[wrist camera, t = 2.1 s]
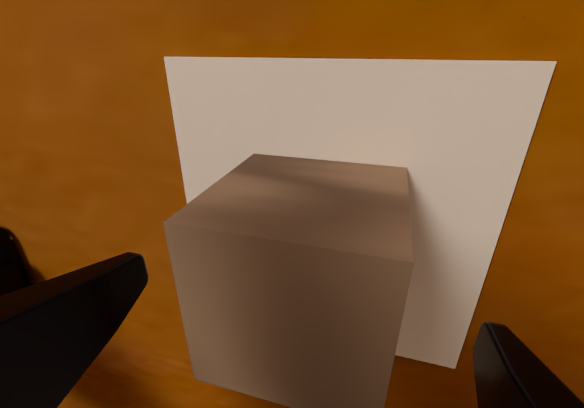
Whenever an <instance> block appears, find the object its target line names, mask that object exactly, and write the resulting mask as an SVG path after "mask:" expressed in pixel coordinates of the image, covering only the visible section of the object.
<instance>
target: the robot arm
mask: <svg viewBox="0 0 584 408" xmlns="http://www.w3.org/2000/svg"><path fill="white" fill-rule="evenodd" d="M147 282H148V273H147V269H146V265H145V261H144V258H143V256H142V255H140V254H137V253H132V252H127V253H124V254H121V255H118V256H115V257H112V258H110V259H107V260H104V261H101V262H98V263H95V264H92V265H89V266H87V267H84V268H81V269H78V270H75V271H72V272H69V273H66V274H63V275H61V276H58V277H55V278H52V279H49V280H46V281H43V282H40V283H38V284H35V285H32V286H31V285H30V283H29V281H28V278H27V276H26V274H25V272H24V270H23V267H22V265H21V263H20V261H19V258H18V256H17V254H16V252H15V250H14V247H13V245H12V243H11V241H10V238H9V236H8V235H7V233H6V232H5V231H4V230H3V229H2V228H0V408H57V407H58V406H59V405H60V403H61V402H62V401H63V399H64V398H65V397H66V396H67V394H68V393H69V392H70V390H71V389H72V388H73V387H74V385H75V384H76V383H77V381H78V380H79V379H80V378H81V376H82V375H83V374H84V372H85V371H86V370H87V369H88V367H89V366H90V365H91V363H92V362H93V361H94V360H95V358H96V357H97V356H98V354H99V353H100V352H101V351H102V349H103V348H104V347H105V345H106V344H107V343H108V342H109V340H110V339H111V338H112V336H113V335H114V334H115V332H116V331H117V330H118V328H119V327H120V325H121V324H122V322H123V321H124V319H125V318H126V316H127V314H128V313H129V311H130V310H131V308H132V307H133V305H134V304H135V302H136V300H137V299H138V297H139V296H140V294H141V293H142V291H143V290H144V288H145V286H146V285H147ZM473 362H474V372H475V381H476V391H477V400H478V408H584V403H583V402H582V401H581V400H580V399H579V398H578V397H577V396H576V395H575V394H574V393H573V392H572V391H571V390H570V389H569V388H568V387H567V386H566V385H565V384H564V383H563V382H562V381H561V380H560V379H559V378H558V377H557V376H556V375H555V374H554V373H553V372H552V371H551V370H550V369H549V368H548V367H547V366H546V365H545V364H544V363H543V362H542V361H541V360H540V359H539V358H538V357H537V356H536V355H535V354H534V353H533V352H532V351H531V350H530V349H529V348H528V347H527V346H526V345H525V344H524V343H523V342H522V341H521V340H520V339H519V338H518V337H517V336H516V335H515V334H514V333H513V332H512V331H511V330H510V329H509V328H508V327H506V326H505V325H502V324H498V323H493V322H488V321H486V322H483V324H482V325H481V328H480V330H479V333H478V336H477V339H476V342H475V345H474V348H473Z"/></svg>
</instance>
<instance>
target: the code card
mask: <svg viewBox="0 0 584 408" xmlns="http://www.w3.org/2000/svg"><path fill="white" fill-rule="evenodd" d="M164 61H165V68H166V74H167V80H168V87H169V93H170V99H171V106H172V112H173V118H174V125H175V131H176V137H177V144H178V150H179V156H180V163H181V169H182V175H183V182H184V188H185V194H186V201H187V204H188V203H189V202H190V201H192V200H193V199H194V198H196V197H197V196H198V195H200V194H201V193H202V192H204V191H205V190H206V189H208V188H209V187H210V186H212V185H213V184H214V183H216V182H217V181H218V180H220V179H221V178H222V177H224V176H225V175H226V174H227V173H229V172H230V171H231V170H233V169H234V168H235V167H237V166H238V165H239V164H241V163H242V162H243V161H245V160H246V159H247V158H249V157H250V156H251V155H253V154H264V155H275V156H285V157H296V158H307V159H318V160H329V161H340V162H351V163H362V164H373V165H384V166H394V167H405V168H407V179H408V193H409V206H410V219H411V233H412V246H413V259H414V264H413V269H412V274H411V279H410V284H409V288H408V293H407V298H406V303H405V308H404V313H403V318H402V323H401V328H400V333H399V338H398V342H397V347H396V352H395V355H397V356H402V357H406V358H410V359H414V360H419V361H423V362H427V363H432V364H436V365H440V366H445V367H449V368H453V369H455V368H456V365H457V362H458V359H459V356H460V353H461V349H462V346H463V343H464V340H465V337H466V334H467V331H468V328H469V325H470V322H471V319H472V316H473V313H474V310H475V307H476V304H477V301H478V298H479V295H480V292H481V289H482V286H483V283H484V280H485V277H486V274H487V271H488V268H489V265H490V262H491V259H492V256H493V253H494V250H495V247H496V244H497V241H498V238H499V235H500V232H501V228H502V225H503V222H504V219H505V216H506V213H507V210H508V207H509V204H510V201H511V198H512V195H513V192H514V189H515V186H516V183H517V180H518V177H519V174H520V171H521V168H522V165H523V162H524V159H525V156H526V153H527V150H528V147H529V144H530V141H531V138H532V135H533V132H534V129H535V126H536V123H537V120H538V117H539V114H540V111H541V107H542V104H543V101H544V98H545V95H546V92H547V89H548V86H549V83H550V80H551V77H552V74H553V71H554V68H555V65H556V62H557V61H497V60H412V59H328V58H243V57H164Z"/></svg>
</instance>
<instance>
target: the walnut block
mask: <svg viewBox="0 0 584 408" xmlns="http://www.w3.org/2000/svg"><path fill="white" fill-rule="evenodd" d="M163 225H164V230H165V235H166V240H167V245H168V250H169V255H170V260H171V265H172V270H173V275H174V280H175V285H176V290H177V295H178V300H179V305H180V310H181V315H182V320H183V325H184V330H185V335H186V340H187V345H188V350H189V355H190V360H191V365H192V370H193V375H194V379H195V380H199V381H202V382H206V383H209V384H212V385H216V386H219V387H223V388H226V389H229V390H233V391H236V392H240V393H243V394H246V395H250V396H253V397H257V398H260V399H263V400H267V401H270V402H274V403H277V404H280V405H284V406H287V407H291V408H384V406H385V401H386V397H387V392H388V387H389V382H390V377H391V372H392V367H393V362H394V357H395V352H396V347H397V342H398V338H399V333H400V328H401V323H402V318H403V313H404V308H405V303H406V298H407V293H408V288H409V284H410V279H411V274H412V269H413V264H414V259H413V246H412V233H411V219H410V206H409V193H408V179H407V168H405V167H394V166H384V165H373V164H362V163H351V162H340V161H329V160H318V159H307V158H296V157H285V156H275V155H264V154H253V155H251V156H250V157H249V158H247V159H246V160H245V161H243V162H242V163H241V164H239V165H238V166H237V167H235V168H234V169H233V170H231V171H230V172H229V173H227V174H226V175H225V176H224V177H222V178H221V179H220V180H218V181H217V182H216V183H214V184H213V185H212V186H210V187H209V188H208V189H206V190H205V191H204V192H202V193H201V194H200V195H198V196H197V197H196V198H194V199H193V200H192V201H190V202H189V203H188V204H186V205H185V206H184V207H183V208H181V209H180V210H179V211H177V212H176V213H175V214H173V215H172V216H171V217H169V218H168V219H167V220H165V221H164V222H163Z"/></svg>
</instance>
